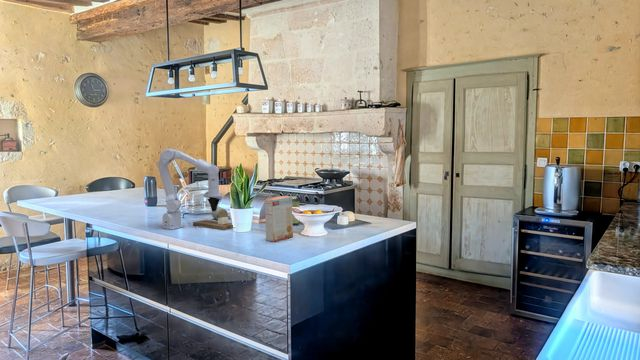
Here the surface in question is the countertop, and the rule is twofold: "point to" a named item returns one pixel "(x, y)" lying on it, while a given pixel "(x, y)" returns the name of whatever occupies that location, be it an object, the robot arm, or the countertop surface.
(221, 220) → the fader knob
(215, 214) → the ceramic mug
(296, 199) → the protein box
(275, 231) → the cracker box
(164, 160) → the robot arm
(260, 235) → the countertop surface
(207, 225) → the fader console
